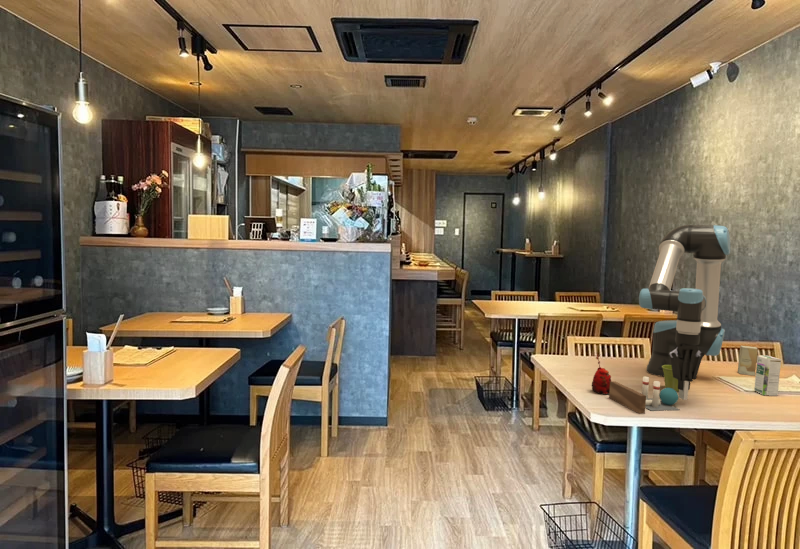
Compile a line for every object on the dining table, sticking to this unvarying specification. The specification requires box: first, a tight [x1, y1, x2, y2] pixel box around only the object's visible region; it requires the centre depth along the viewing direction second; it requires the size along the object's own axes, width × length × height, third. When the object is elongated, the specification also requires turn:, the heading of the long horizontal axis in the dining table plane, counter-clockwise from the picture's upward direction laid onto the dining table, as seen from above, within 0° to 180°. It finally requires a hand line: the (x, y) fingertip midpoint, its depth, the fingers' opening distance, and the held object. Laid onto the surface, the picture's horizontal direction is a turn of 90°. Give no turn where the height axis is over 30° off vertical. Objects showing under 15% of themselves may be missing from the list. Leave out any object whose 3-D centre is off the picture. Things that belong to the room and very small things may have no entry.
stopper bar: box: [608, 380, 646, 415], centre depth 193 cm, size 2×18×6 cm, turn 11°
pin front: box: [645, 399, 661, 406], centre depth 193 cm, size 2×2×9 cm
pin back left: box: [651, 380, 661, 408], centre depth 191 cm, size 2×2×9 cm
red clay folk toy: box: [591, 352, 612, 395], centre depth 208 cm, size 8×7×15 cm
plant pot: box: [662, 365, 679, 392], centre depth 216 cm, size 9×9×9 cm
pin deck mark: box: [645, 397, 681, 412], centre depth 195 cm, size 11×13×1 cm
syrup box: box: [753, 354, 782, 397], centre depth 215 cm, size 6×6×14 cm
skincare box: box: [737, 345, 758, 377], centre depth 248 cm, size 6×4×12 cm
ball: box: [659, 387, 679, 406], centre depth 195 cm, size 6×6×6 cm
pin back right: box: [641, 375, 650, 400], centre depth 197 cm, size 2×2×9 cm
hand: (682, 398), depth 197 cm, fingers closed
